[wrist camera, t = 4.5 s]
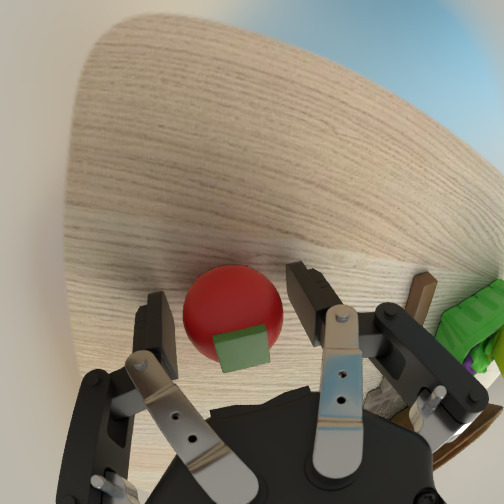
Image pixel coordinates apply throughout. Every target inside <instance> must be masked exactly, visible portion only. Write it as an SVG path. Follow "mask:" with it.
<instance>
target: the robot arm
mask: <svg viewBox="0 0 504 504" xmlns="http://www.w3.org/2000/svg"><path fill="white" fill-rule="evenodd" d="M286 281H287V293H288V297H289V300H290V302H291V304H292V306H293V308H294V310H295V312H296V314H297V315H298V317H299V319H300V321H301V323H302V325H303V327H304V329H305V331H306V333H307V335H308V337H309V339H310V341H311V343H312V345H313V347H316V346H319V345H321V347H322V348H323V355H322V367H321V378H320V387H319V392H311V391H310V388H309V386H305V387H302V388H298V389H295V390H291V391H288V392H285V393H283V394H281V395H279V396H277V397H275V398H273V399H271V400H269V401H268V402H266V403H264V404H261V405H232V406H228V407H223V408H218V409H213V410H210V415H211V417H210V418H207V419H206V420H204V419H203V418H202V416H201V415H200V414H199V413H198V411H197V410H196V409H195V408H194V406H193V405H192V404H191V403H190V401H189V400H188V399H187V397H186V396H185V395H184V394H183V392H182V391H181V390H180V388H179V387H178V386H177V385H176V384H174V383H173V381H172V380H175V379H178V369H177V356H176V342H175V326H174V320H173V316H172V313H171V310H170V308H169V305H168V302H167V299H166V296H165V294H164V292H163V291H160V292H155V293H150V294H148V300H147V305H143V306H140V307H139V309H138V311H137V312H136V314H135V325H134V337H133V352H132V354H131V355H130V356H129V357H128V358H127V360H126V362H125V366H124V367H123V368H121V369H119V370H117V371H114V372H112V373H110V374H108V373H107V372H106V371H105V370H102V369H95V370H92V371H90V372H88V373H87V374H86V375H85V376H84V378H83V380H82V383H81V386H80V389H79V393H78V396H77V400H76V404H75V407H74V411H73V415H72V419H71V423H70V427H69V431H68V435H67V440H66V444H65V449H64V454H63V459H62V464H61V469H60V475H59V481H58V487H57V494H56V504H140V502H139V500H138V495H137V490H136V488H135V486H134V485H133V484H132V483H131V482H129V481H127V479H128V468H129V458H130V449H131V440H132V432H133V425H134V418H135V414H136V413H139V412H141V411H143V410H145V409H147V410H148V411H149V413H150V414H151V416H152V418H153V419H154V421H155V422H156V424H157V425H158V427H159V428H160V430H161V431H162V433H163V434H164V436H165V437H166V439H167V440H168V442H169V443H170V445H171V446H172V448H173V449H174V450H175V452H176V453H177V454H176V456H175V457H174V459H173V460H172V462H171V464H170V465H169V467H168V468H167V470H166V471H165V473H164V475H163V476H162V478H161V479H160V481H159V482H158V484H157V485H156V487H155V489H154V490H153V492H152V493H151V495H150V496H149V498H148V499H147V501H146V502H145V504H447V503H446V502H445V501H444V500H443V499H442V498H441V497H440V495H439V494H438V492H437V490H436V488H435V485H434V480H433V453H434V452H435V451H436V450H438V449H439V448H440V447H441V446H442V445H444V444H445V443H449V442H452V441H454V440H455V439H456V438H457V437H458V436H459V435H460V434H461V433H462V432H463V431H464V430H465V429H466V428H467V427H468V426H469V425H470V424H471V423H472V422H473V421H474V420H475V419H476V418H477V417H478V416H479V415H480V413H481V412H482V411H483V410H484V409H485V408H486V407H487V405H488V401H489V396H488V392H487V390H486V389H485V388H484V386H483V385H482V384H481V383H480V382H479V381H478V380H477V379H476V378H475V377H474V376H473V375H472V374H471V373H470V372H469V371H468V370H467V369H466V368H465V367H464V366H463V365H462V364H461V363H460V362H459V361H458V360H457V359H456V358H455V357H454V356H453V355H452V354H451V353H450V352H449V351H448V350H447V349H446V348H445V347H443V346H442V345H441V344H440V343H439V342H438V341H437V340H436V339H435V338H434V337H433V336H432V335H431V334H430V333H429V332H428V331H427V330H426V329H425V328H423V327H422V326H421V325H420V324H419V323H418V322H417V321H416V320H415V319H414V318H413V317H412V316H410V315H409V314H408V313H407V312H406V311H405V310H404V309H403V308H402V307H401V306H399V305H397V304H395V303H391V302H386V303H382V304H380V305H378V306H377V308H376V310H375V312H368V313H359V312H356V310H355V309H354V308H352V307H350V306H348V305H344V304H343V303H342V301H341V300H340V299H339V297H338V296H337V294H336V293H335V292H334V290H333V289H332V287H331V286H330V284H329V283H328V282H327V281H326V279H325V278H324V276H323V275H322V273H320V272H319V271H317V270H315V269H314V268H312V269H308V270H307V268H306V267H305V265H304V264H303V262H302V261H298V262H293V263H289V264H286ZM365 357H368V358H369V360H370V361H371V362H372V363H373V364H374V365H375V367H376V368H377V369H378V370H379V371H380V372H381V374H382V375H383V376H384V377H385V378H386V379H387V381H388V382H389V383H390V384H391V385H392V387H393V388H394V389H395V390H396V391H397V392H398V394H399V395H400V396H401V397H402V398H403V400H404V401H405V402H406V403H407V404H408V405H409V407H410V408H411V409H410V411H409V418H410V421H411V423H412V426H413V427H414V431H413V430H411V429H408V428H406V427H404V426H401V425H399V424H397V423H394V422H392V421H390V420H388V419H385V418H383V417H381V416H379V415H377V414H374V413H372V412H370V411H368V410H366V409H364V408H362V401H363V376H362V358H365Z"/></svg>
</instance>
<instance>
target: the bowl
mask: <svg viewBox="0 0 504 504" xmlns="http://www.w3.org/2000/svg"><path fill="white" fill-rule="evenodd" d="M410 409H411V408H410V407H407V408H406V409H404V410H403V411H401V412H400V413H398V414H397V415H396V416H395V417H393V418H392V419H391V420H390V421H392V422H394V423H397V424H399V425H401V426H404V427H406V428H408V429H411V430H413V431H414V427H413V426H412V423H411V421H410V418H409V411H410ZM502 411H503V407H502V406H499V405H494V404H489V403H488V405H487V407H486V408H485V409H484V410H483V411H482V412H481V413H480V415H479V416H478V417H477V418H476V419H475V420H474V421H473V422H472V423H471V424H470V425H469V426H468V427H467V428H466V429H465V430H464V431H463V432H462V433H461V434H460V435H459V436H458V437H457V438H456V439H455V440H454V441H452V442H449V443H445V444H444V445H442V446H441V447H440V448H439V449H438V450H436V451H435V452H434V453H433V471H435V470H436V469H438V468H439V467H441V466H442V465H444V464H445V463H446V462H448V461H449V460H450V459H452V458H453V457H455V456H456V455H457V454H459V453H460V452H461V451H462V450H464V449H465V448H466V447H467V446H469V445H470V444H471V443H472V442H474V441H475V440H476V439H478V437H480V436H481V435H482V434H483V433H484V432H485V431H486V430H487V429H488V428H489V427H490V425H491V424H492V423H493V422H494V420H495V419H496V418H497V417H498V416H499V415H500V414H501V412H502Z"/></svg>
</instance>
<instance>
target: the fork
mask: <svg viewBox="0 0 504 504" xmlns="http://www.w3.org/2000/svg"><path fill="white" fill-rule="evenodd" d="M437 282H438V281H437V280H436V279H435V278H434V277H433V276H432V275H431V274H430V273H429V272H425V273H423V274H420V275H417V276H415V277H414V279H413V283H412V287H411V291H410V295H409V299H408V302H407V306H406V309H405V311H406V312H407V313H408V314H409V315H410V316H412V317H413V318H414V319H415V320H416V321H417V322H418V323H419V324H420V325H421V326H422V327H423V324H424V321H425V318H426V316H427V313H428V310H429V307H430V304H431V301H432V298H433V295H434V292H435V289H436V285H437ZM396 394H397V391H396V390H395V389H394V388H393V387H392V385H391V384H390V383H389V382H388V381H387V379H386V378H385V377H384V378H383V380H382V383H381V385H380V388H378V389H375V390H373V391H371V392H369V393H368V395H367V397H366V400H365V403H364V406H363V408H364V409H366V410H368V411H370V412H372V413H374V414H378V412H379V410H380V408H381V409H382V410H383V412H385V411H387V410H388V408H389V407H390V405H391V403H392V401H393V399H394V397H395V396H396Z"/></svg>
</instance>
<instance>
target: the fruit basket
mask: <svg viewBox="0 0 504 504" xmlns="http://www.w3.org/2000/svg"><path fill="white" fill-rule="evenodd" d="M435 339H436V340H437V341H438V342H439V343H440V344H441V345H442V346H443V347H445V348H446V349H447V350H448V351H449V352H450V353H451V354H452V355H453V356H454V357H455V358H456V359H457V360H458V361H459V362H460V363H461V364H462V365H463V366H464V367H465V368H466V369H467V370H468V371H469V372H470V373H471V374H472V375H473V376H474V375H475V374H477V373H485V372H486V371H487V366H488V365H490V363H491V362H492V361H493V360H494V359H495V361H496V364H497V366H498V368H499V370H500V372H501V374H502V377H503V378H504V281H503V280H501V279H497V280H496V281H494V282H493V283H491V284H490V285H489V286H488V287H485V288H484V289H482V290H480V291H479V292H477V293H476V294H475V295H474V296H472V297H469V298H468V299H466V300H464V301H463V302H461V303H460V304H459V305H457V306H455V307H452V308H451V309H449V310H447V311H446V312H444V313H443V314H442V317H441V323H440V324H439V327H438V330H437V333H436V336H435Z"/></svg>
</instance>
